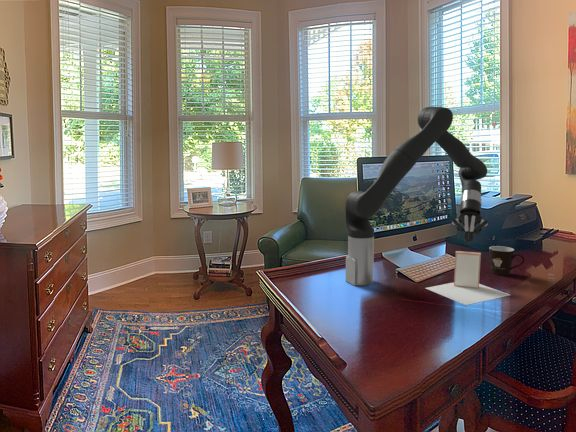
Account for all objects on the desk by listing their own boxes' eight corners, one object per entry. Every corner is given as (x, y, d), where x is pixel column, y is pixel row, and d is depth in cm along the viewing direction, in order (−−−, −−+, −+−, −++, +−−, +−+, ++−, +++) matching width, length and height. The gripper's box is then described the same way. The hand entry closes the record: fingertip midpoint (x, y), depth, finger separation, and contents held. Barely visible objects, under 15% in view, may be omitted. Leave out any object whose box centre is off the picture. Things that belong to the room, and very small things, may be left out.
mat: (465, 306, 134) (465, 305, 134) (424, 289, 150) (424, 288, 150) (511, 296, 142) (511, 294, 142) (467, 281, 158) (467, 279, 158)
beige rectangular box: (478, 288, 148) (480, 254, 146) (453, 286, 151) (455, 252, 149) (478, 286, 150) (480, 252, 148) (454, 283, 154) (455, 250, 152)
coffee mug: (482, 272, 168) (483, 247, 166) (499, 269, 171) (501, 245, 169) (507, 281, 157) (508, 254, 155) (524, 278, 160) (526, 251, 158)
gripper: (452, 197, 166) (448, 235, 157) (490, 198, 161) (489, 237, 152) (452, 209, 172) (449, 246, 163) (488, 211, 167) (487, 249, 158)
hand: (468, 242), depth 157 cm, fingers closed
